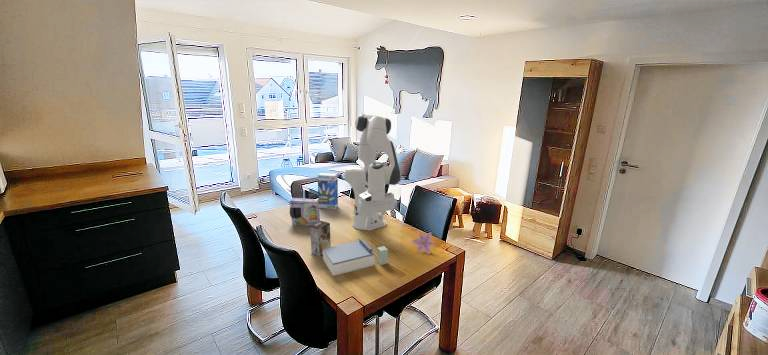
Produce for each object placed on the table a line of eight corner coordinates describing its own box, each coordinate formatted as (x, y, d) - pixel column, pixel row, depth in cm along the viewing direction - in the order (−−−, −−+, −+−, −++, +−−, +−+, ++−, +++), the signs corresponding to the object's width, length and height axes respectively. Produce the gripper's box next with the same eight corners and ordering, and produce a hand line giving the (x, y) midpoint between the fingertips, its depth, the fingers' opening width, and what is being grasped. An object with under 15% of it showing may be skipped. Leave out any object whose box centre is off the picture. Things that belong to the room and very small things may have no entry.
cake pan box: (290, 224, 205) (288, 199, 200) (293, 221, 210) (291, 196, 205) (317, 227, 202) (316, 201, 197) (320, 224, 206) (319, 199, 202)
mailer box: (361, 251, 173) (361, 241, 172) (374, 265, 160) (374, 254, 158) (323, 260, 164) (322, 250, 162) (333, 276, 150) (332, 265, 148)
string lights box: (318, 208, 234) (317, 174, 227) (321, 204, 242) (320, 172, 235) (335, 209, 232) (334, 175, 225) (338, 205, 240) (337, 173, 233)
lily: (408, 249, 179) (409, 239, 172) (421, 236, 185) (422, 226, 179) (425, 261, 174) (427, 252, 167) (437, 247, 180) (439, 238, 173)
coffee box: (322, 246, 178) (321, 220, 174) (331, 249, 175) (330, 222, 171) (310, 252, 171) (309, 225, 166) (319, 256, 168) (318, 228, 163)
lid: (361, 241, 172) (361, 236, 171) (374, 254, 158) (374, 249, 157) (322, 249, 162) (322, 245, 161) (332, 264, 148) (332, 259, 148)
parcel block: (383, 259, 166) (384, 245, 163) (387, 263, 162) (387, 249, 160) (377, 261, 164) (377, 247, 162) (380, 265, 160) (380, 251, 158)
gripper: (391, 190, 167) (390, 214, 170) (355, 195, 157) (355, 221, 161) (397, 193, 161) (396, 218, 165) (360, 199, 152) (360, 225, 156)
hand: (375, 219), depth 163 cm, fingers open, 4 cm apart
